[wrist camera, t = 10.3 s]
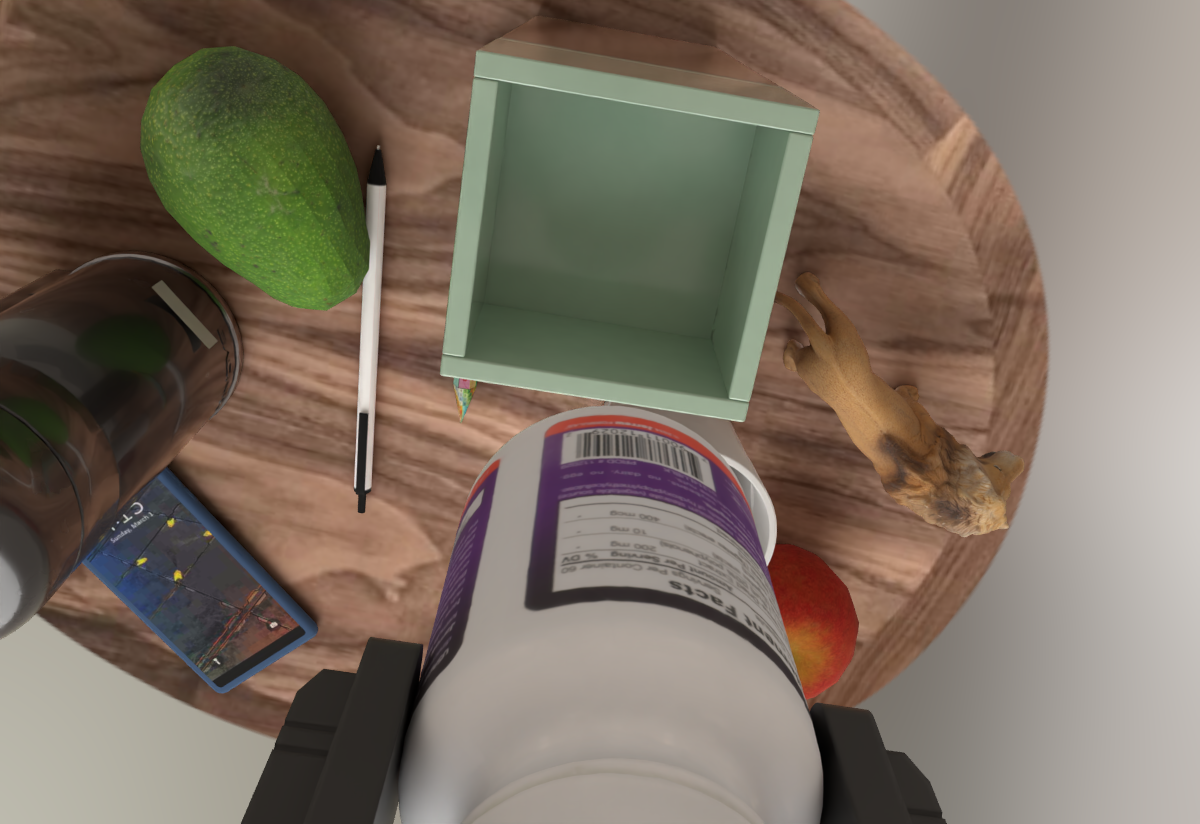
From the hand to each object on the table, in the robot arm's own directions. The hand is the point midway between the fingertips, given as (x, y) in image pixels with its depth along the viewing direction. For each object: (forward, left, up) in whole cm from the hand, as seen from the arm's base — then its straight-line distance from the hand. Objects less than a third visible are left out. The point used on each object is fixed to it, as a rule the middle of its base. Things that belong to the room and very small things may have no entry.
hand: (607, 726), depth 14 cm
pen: (-10, -9, -37) cm, 40 cm away
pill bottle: (0, 0, -6) cm, 6 cm away
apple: (+12, -19, -38) cm, 44 cm away
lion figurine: (+14, -7, -38) cm, 41 cm away
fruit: (-18, +3, -32) cm, 37 cm away
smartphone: (-14, -29, -37) cm, 49 cm away
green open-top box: (0, +3, -37) cm, 38 cm away
